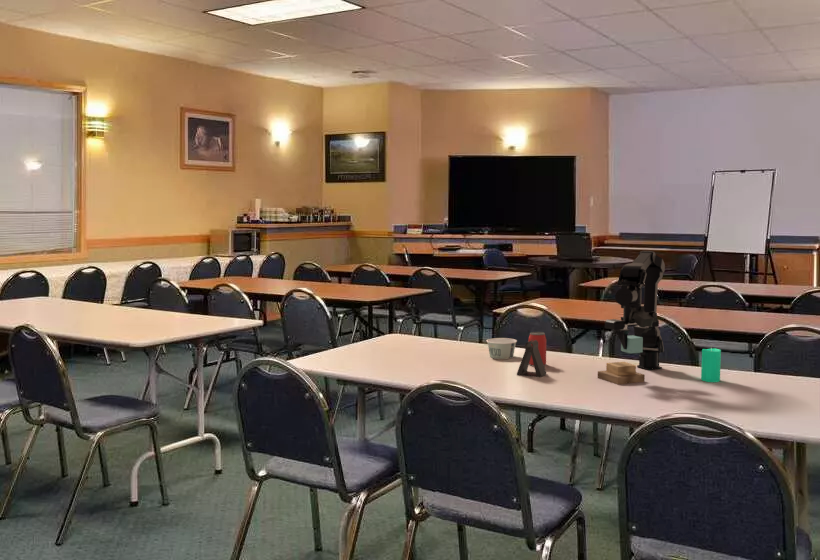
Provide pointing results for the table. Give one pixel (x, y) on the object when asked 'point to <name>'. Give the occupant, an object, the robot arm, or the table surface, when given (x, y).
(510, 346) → the food container
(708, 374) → the candle
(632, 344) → the teal cube
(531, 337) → the beer can
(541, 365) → the dark grey a-shaped piece
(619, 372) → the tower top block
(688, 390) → the table surface
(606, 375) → the tower base block
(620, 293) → the robot arm
